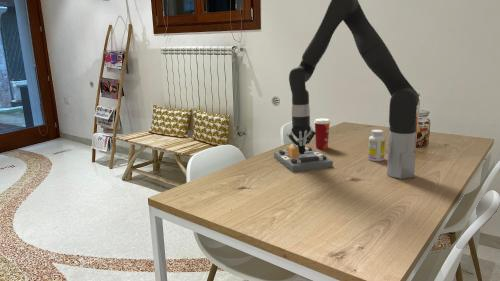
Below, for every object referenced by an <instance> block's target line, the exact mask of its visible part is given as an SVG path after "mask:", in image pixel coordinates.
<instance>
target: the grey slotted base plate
mask: <svg viewBox="0 0 500 281" xmlns="http://www.w3.org/2000/svg"><path fill="white" fill-rule="evenodd" d="M312 149H313V148H312V147H310V146H308V147H307V146H305V152H308V151H312ZM279 153H280V154H281V155H283V154H288V149H281V150H279ZM326 157H327V156H326V155H324V154H322V155H320V156H312V157H304V158H295V159H291V162H292V163H293V164H294V163H302V162H310V161H318V160H326Z"/></svg>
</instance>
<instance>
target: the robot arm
mask: <svg viewBox="0 0 500 281" xmlns="http://www.w3.org/2000/svg"><path fill="white" fill-rule="evenodd" d="M342 22H344V24H345V26H347V28H348V29H349V31H350V32H351V34H352V37H353V39H354V43H355V45H356V48H357V50H358V52H359V55H360V57H361V58H362V60H363V61H364V63H365V64H366V66H367V67H368V69H370V71H371V72H372V73H373V74H374V75H375V76H376V77H377V78H378V79H379V80H381V82H382V83H383V84H384V86H385V87H386V89H387V91H388V94H390V96H391V97H390V100H389V109H388V110H389V111H388V114H389V116H388V124H389V131H388V132H389V133H388V134H389V135H388V148H387V149H388V150H387V166H386V168H387V169H386V174H387V175H388V177H392V178H396V179H400V180H403V179H408V178H409V179H410V178H414V177H415V171H416V170H415V169H416V168H415V167H416V158H417V156H416V154H417V153H416V152H415V145H416V134H417V132H416V131H417V112H418V111H417V109H418V108H417V107H418V105H419V102H420V96H419V94H418V92H417V91H416V90H415V88H414V87H413V86H412V84H411V83H410V82H409V80H408V79H407V78H406V77H405V76H404V74H403V72H401V70H400V68H399V66H398V64H397V62H396V61H395V59H394V57H393V55H392V53H391V51H390V50H389V47H388V46H387V45H386V43H385V42H384V40H383V39H382V38H381V36H380V35H379V33H378V32H377V31H376V29H375V27H373V26H372V24H371V23H370V22H369V20H368V18H367V16H366V14H365V13H364V11H363V8H362V6H361V4H360V2H359V0H330V2H329V4H328V6H327V9H326V10H325V14H324V17H323V18H322V20H321V23H320V25H319V26H318V29H317V30H316V31H315V34H314V35H313V37H312V39H311V41H310V42H309V44H308V45H307V47H306V48H305V50H304V52H303V53H302V57H301V61H300V64H299V65H298V66H297V67H294V68H292V69H291V70H290V72H289V75H288V82H289V86H290V87H289V88H290V92H291V102H292V103H291V104H292V106H291V123H292V124H291V127H292V128H291V131H290V132H288V133H287V134H286V136H287V137H288V139H289V140H290V141H291V143H292V144H293V145H294V146H297V148H299V153H300V154H304V152H305V147H306V146H307V145H308V144H310V143H311V141H312V139H313V138H314V137H315V130H312V128H311V115H310V114H311V110H310V109H311V108H310V94H309V91H308V90H307V88H306V87H307V86H306V83H307V82H308V81H309V80H310V78H312V76H313V74H314V72H315V69H316V67H317V65H318V63H319V62H320V61H321V59H322V58H323V56H324V54H325V53H326V51H327V49H328V47H329V44H330V42H331V39H332V38H333V35H334V33H335V32H336V30H337V28H338V27H339V25H340V24H341V23H342ZM294 137H295V138H296V139H295V138H294Z"/></svg>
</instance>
